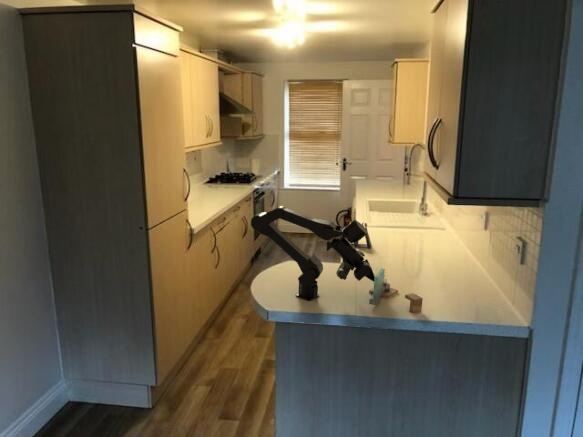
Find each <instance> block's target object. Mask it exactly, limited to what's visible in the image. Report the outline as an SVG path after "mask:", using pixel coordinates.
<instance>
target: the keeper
mask: <svg viewBox="0 0 583 437" xmlns="http://www.w3.org/2000/svg"><path fill="white" fill-rule="evenodd" d="M404 298H405V299H406V300H408V301H410V302H409V311H408V312H410V313H411V314H413V315H414V314H419V313H422V311H423V310H422V309H423V308H422V307H423V299H424V298H423V297H421V296H419V294H416V293H414V292H413V293H406V294H405V295H404Z"/></svg>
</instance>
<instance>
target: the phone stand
mask: <svg viewBox="0 0 583 437" xmlns="http://www.w3.org/2000/svg"><path fill="white" fill-rule="evenodd" d="M361 224H362V225H363V226H364V227H365V228H366V230H367V232H368V234H367V235H366V236H364V238H365V242H366V243H365V244H364V243H359V242H360V240H359V241H358V242H357V243H354V244H353V246H354V247H355V248H362V249H372V241H371V238H370V235H369V231H368V224H367V222H362V223H361Z"/></svg>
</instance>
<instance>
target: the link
mask: <svg viewBox="0 0 583 437" xmlns="http://www.w3.org/2000/svg"><path fill="white" fill-rule="evenodd" d="M385 270H386V269H385V268H380V269H379V271H378V272H377V273H376V274H374V276H375V277H374V282H373V288H374V290H373V294H371V296H370V297H369V302H368V304H369V305H373V306H377V304H378V303H379V301H380V300H381V299H382V298H383V297H382V296H383V295H384V293H385V292H386V291H389V290H390V288H391V284H390V283H388V280H387V278H385Z"/></svg>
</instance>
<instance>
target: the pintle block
mask: <svg viewBox="0 0 583 437" xmlns="http://www.w3.org/2000/svg"><path fill="white" fill-rule="evenodd" d="M373 290H374V287H373V288H371V289H368V293H369V294H371V295H373ZM398 293H399V290H398V289H396V288H392V287H390V290H389V291H386V292H385V293H384V295H383V296H382V297H381V298H384V299H387V300H388V299H390V298H391V297H392V298H393V296H396V295H397V294H398Z"/></svg>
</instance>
